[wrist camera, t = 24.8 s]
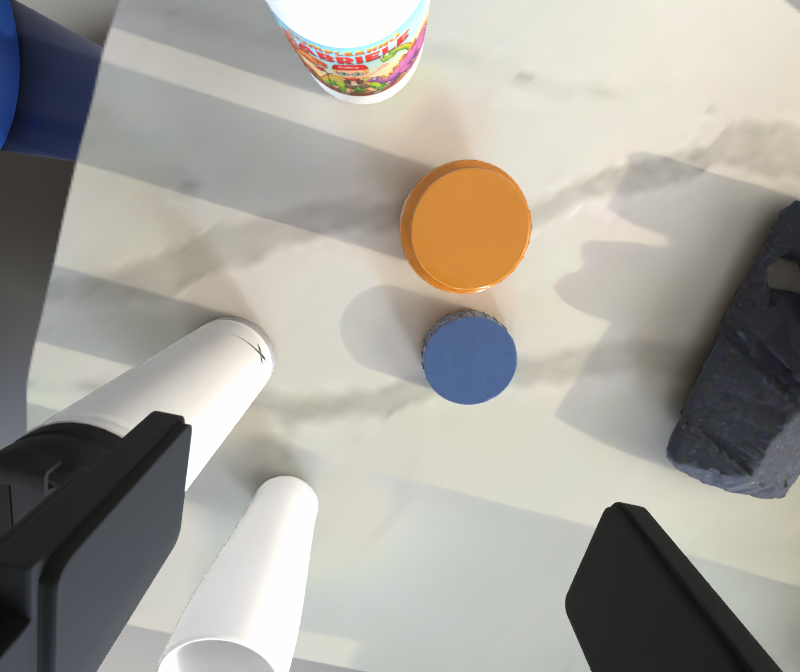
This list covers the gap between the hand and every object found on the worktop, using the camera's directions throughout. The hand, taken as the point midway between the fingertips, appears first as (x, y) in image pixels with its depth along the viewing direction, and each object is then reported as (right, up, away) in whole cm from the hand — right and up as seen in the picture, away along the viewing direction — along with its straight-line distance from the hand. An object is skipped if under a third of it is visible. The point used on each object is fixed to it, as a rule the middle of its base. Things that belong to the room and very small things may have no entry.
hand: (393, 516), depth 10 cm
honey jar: (+3, +12, +21) cm, 24 cm away
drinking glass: (-9, -10, +28) cm, 31 cm away
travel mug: (-12, +3, +24) cm, 27 cm away
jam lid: (+5, +2, +22) cm, 23 cm away
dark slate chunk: (+30, +2, +24) cm, 38 cm away
